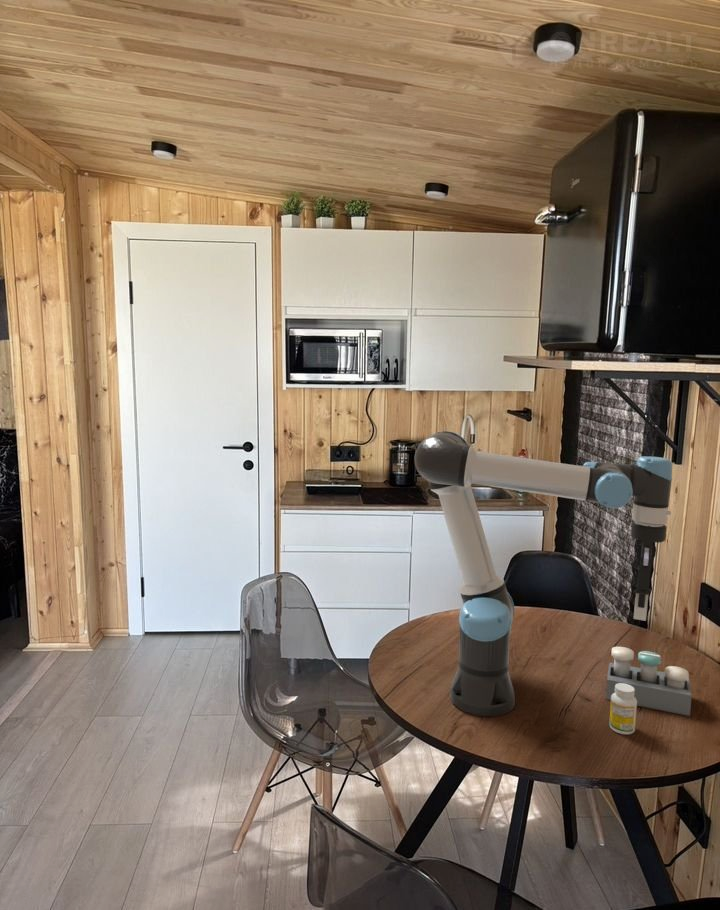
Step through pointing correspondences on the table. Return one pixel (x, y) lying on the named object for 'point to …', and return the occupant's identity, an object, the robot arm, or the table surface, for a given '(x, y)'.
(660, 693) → the grey slotted rack
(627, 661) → the knob
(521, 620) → the table surface
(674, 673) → the knob
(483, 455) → the robot arm
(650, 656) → the dial mid
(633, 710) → the supplement bottle
